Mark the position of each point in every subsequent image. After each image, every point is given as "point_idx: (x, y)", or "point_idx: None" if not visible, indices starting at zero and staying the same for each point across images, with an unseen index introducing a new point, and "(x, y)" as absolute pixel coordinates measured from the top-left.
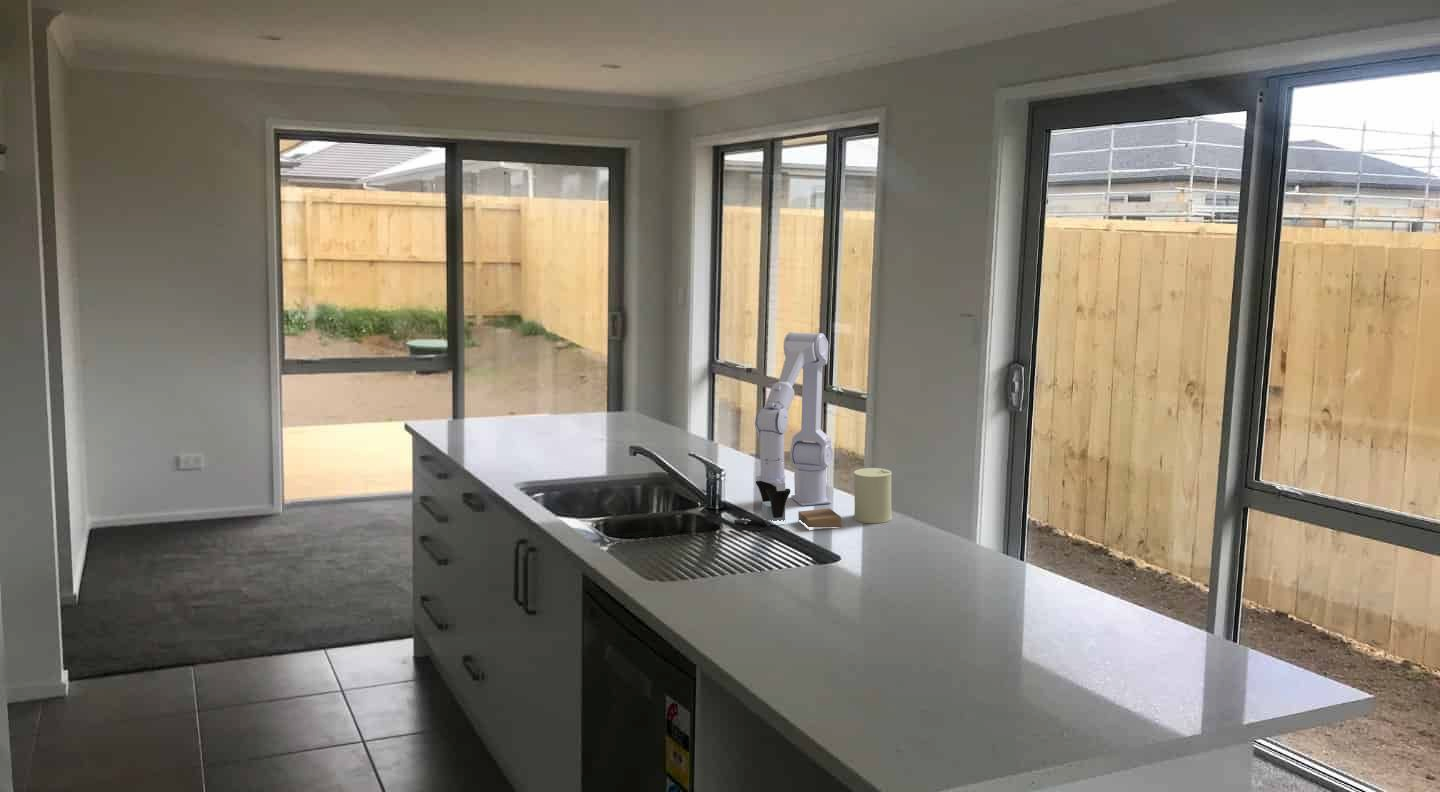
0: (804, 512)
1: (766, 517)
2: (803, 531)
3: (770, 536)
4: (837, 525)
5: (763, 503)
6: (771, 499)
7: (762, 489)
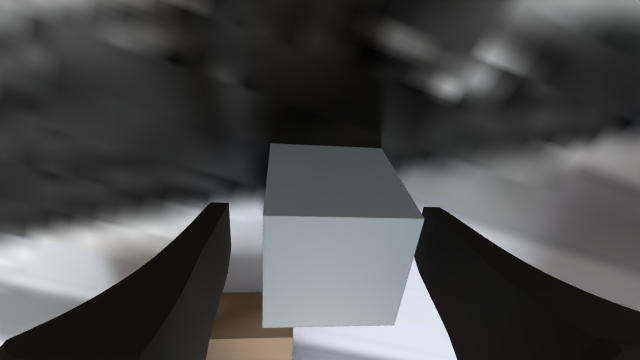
0: (261, 353)
1: (283, 167)
2: (119, 272)
3: (27, 88)
4: None
5: (369, 217)
6: (94, 298)
7: (520, 313)
